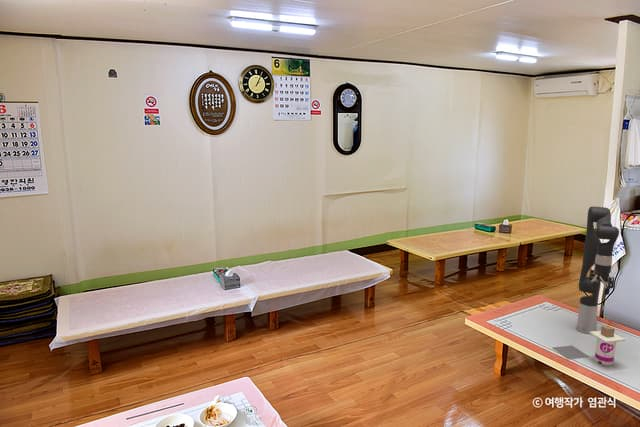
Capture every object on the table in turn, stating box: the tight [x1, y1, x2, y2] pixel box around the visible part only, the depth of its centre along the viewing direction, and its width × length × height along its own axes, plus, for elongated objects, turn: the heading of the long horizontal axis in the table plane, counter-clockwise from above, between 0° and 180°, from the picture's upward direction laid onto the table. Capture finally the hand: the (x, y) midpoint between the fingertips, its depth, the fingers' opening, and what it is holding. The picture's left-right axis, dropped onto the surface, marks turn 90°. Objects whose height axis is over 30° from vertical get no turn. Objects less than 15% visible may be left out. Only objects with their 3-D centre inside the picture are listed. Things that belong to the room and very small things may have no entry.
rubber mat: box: [551, 345, 590, 360], centre depth 242 cm, size 13×13×1 cm
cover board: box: [589, 325, 626, 343], centre depth 229 cm, size 11×11×5 cm
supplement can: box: [594, 337, 617, 367], centre depth 231 cm, size 8×8×15 cm
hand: (599, 291), depth 239 cm, fingers open, 8 cm apart
